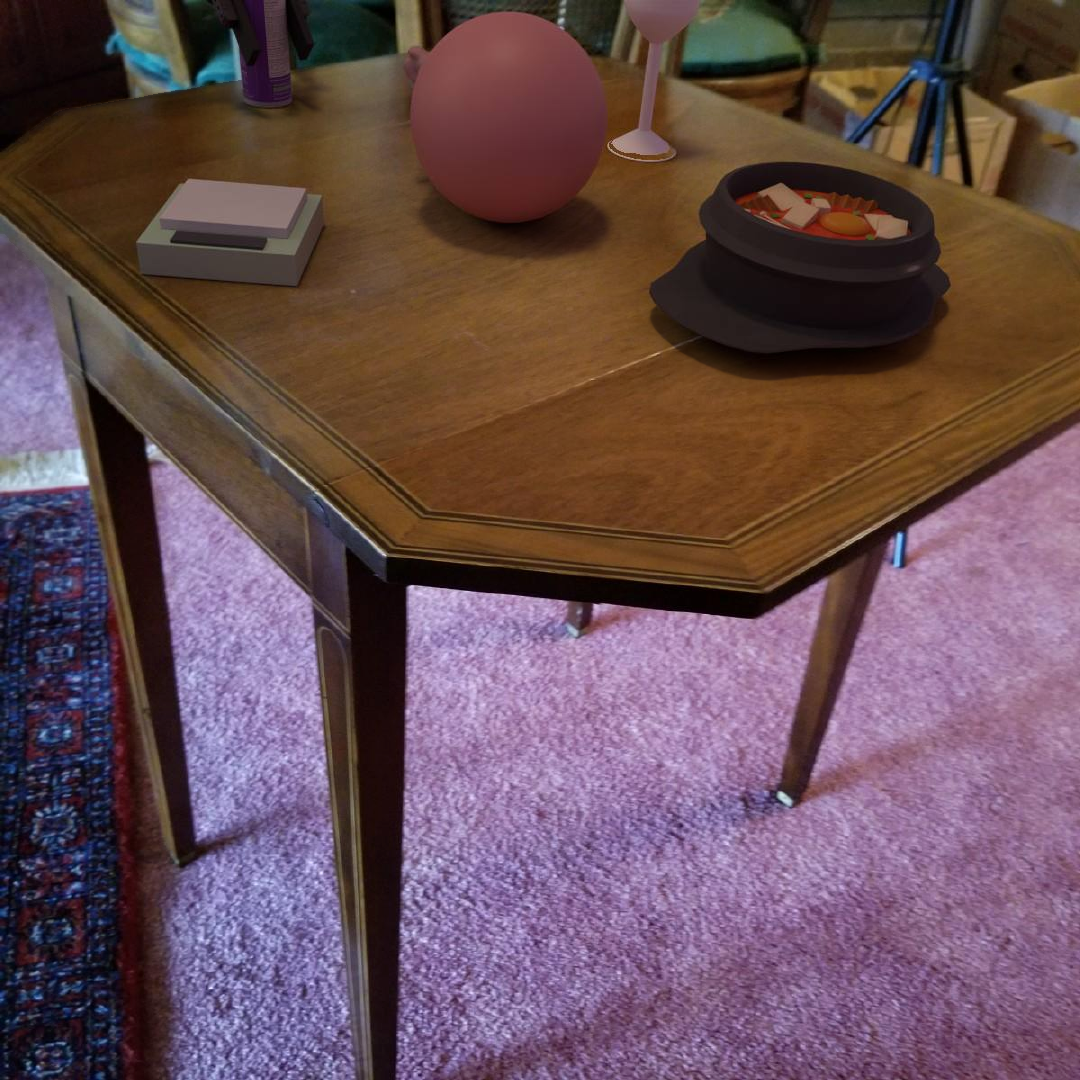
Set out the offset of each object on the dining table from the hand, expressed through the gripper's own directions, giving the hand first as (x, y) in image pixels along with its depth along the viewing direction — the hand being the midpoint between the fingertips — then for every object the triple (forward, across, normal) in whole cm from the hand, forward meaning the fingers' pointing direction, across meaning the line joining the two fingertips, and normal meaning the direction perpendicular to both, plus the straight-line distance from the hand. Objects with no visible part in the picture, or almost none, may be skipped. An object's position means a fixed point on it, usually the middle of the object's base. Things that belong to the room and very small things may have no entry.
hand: (280, 54), depth 102 cm
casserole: (+42, +16, -34) cm, 56 cm away
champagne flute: (+20, +26, -12) cm, 35 cm away
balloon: (+23, +5, -16) cm, 29 cm away
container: (+1, 0, +6) cm, 7 cm away
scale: (+22, -16, -15) cm, 32 cm away
